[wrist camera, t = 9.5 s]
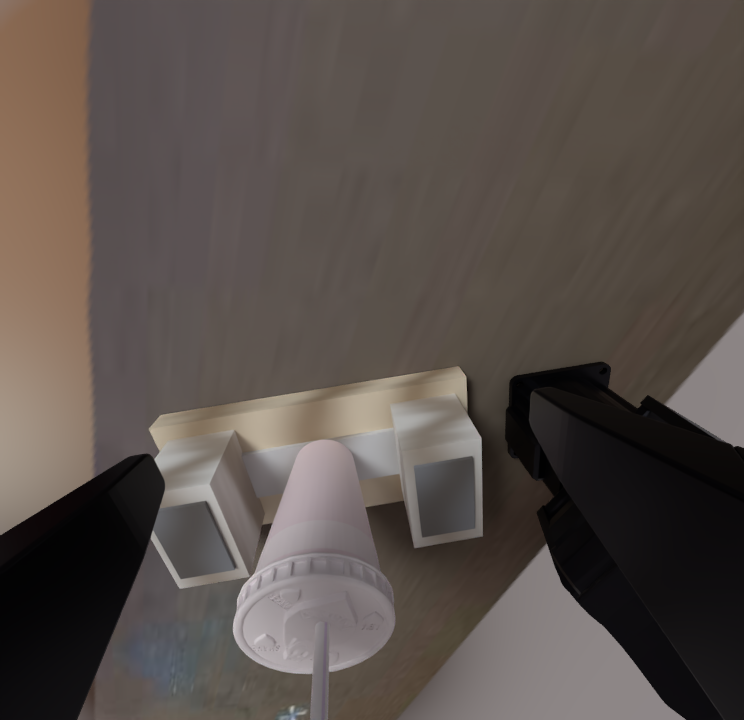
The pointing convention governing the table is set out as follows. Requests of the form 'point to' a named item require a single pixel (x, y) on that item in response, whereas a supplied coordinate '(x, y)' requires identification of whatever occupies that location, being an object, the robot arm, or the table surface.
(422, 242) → the table surface
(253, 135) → the table surface
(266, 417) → the board
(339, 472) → the smoothie
